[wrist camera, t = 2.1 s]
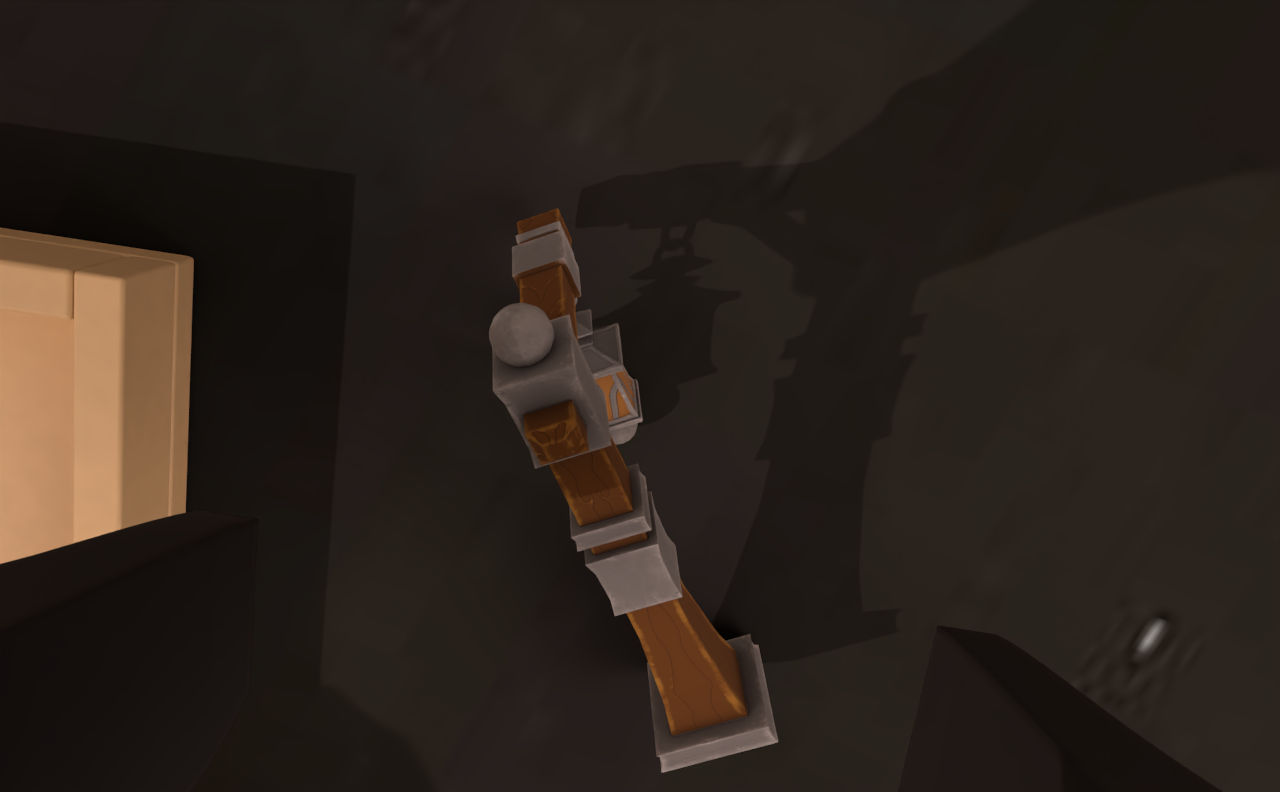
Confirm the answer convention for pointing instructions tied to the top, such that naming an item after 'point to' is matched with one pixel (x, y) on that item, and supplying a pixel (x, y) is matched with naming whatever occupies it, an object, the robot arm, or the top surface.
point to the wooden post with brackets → (618, 501)
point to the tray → (90, 389)
